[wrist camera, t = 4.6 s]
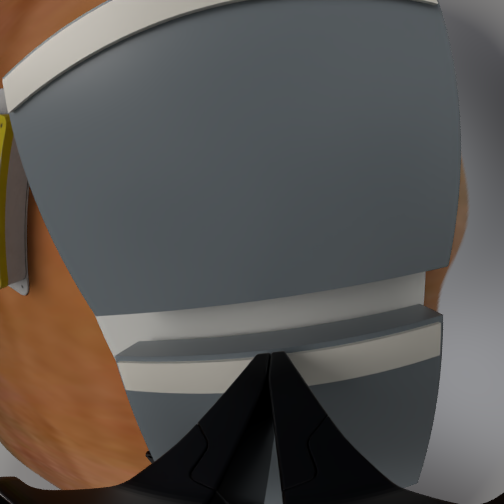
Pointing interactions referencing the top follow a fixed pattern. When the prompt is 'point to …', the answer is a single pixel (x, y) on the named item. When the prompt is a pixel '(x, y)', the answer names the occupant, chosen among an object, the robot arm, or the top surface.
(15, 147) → the emergency button
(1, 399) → the top surface
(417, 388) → the block
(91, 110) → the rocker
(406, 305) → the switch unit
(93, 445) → the top surface
